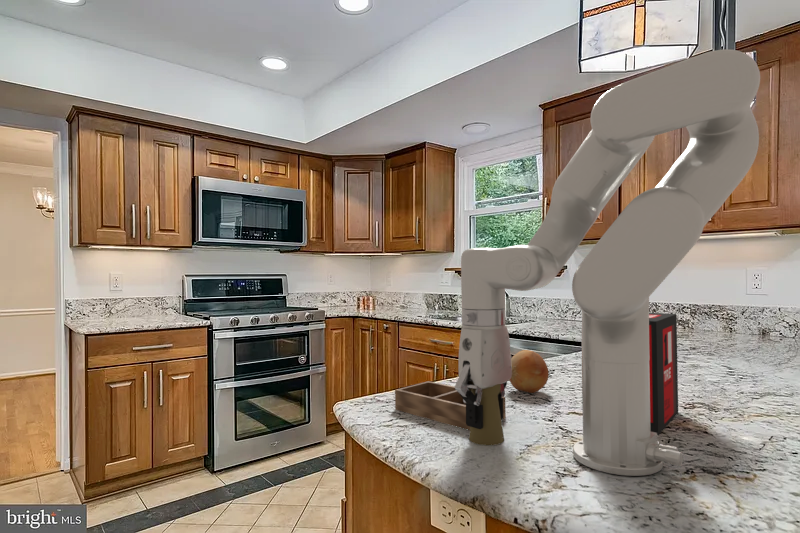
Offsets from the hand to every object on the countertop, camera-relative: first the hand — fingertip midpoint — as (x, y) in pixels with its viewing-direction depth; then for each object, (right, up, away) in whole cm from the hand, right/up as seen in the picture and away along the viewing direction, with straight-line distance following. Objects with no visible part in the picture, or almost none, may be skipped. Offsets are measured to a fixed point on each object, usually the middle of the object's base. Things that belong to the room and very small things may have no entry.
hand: (485, 421), depth 84 cm
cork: (0, -3, 0) cm, 3 cm away
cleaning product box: (+33, -3, +10) cm, 34 cm away
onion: (+16, -3, +31) cm, 35 cm away
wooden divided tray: (-5, -3, +15) cm, 16 cm away
